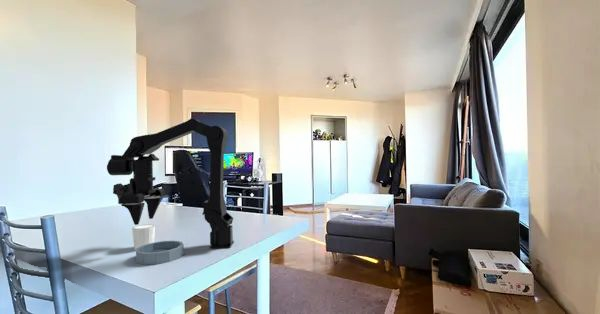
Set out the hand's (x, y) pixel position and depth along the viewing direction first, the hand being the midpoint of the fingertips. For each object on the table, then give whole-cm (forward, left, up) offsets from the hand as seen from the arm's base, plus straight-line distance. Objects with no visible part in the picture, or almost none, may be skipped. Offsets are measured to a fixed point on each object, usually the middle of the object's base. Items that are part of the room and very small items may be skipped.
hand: (144, 221), depth 97 cm
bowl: (-10, +10, -9) cm, 16 cm away
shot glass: (0, 0, -9) cm, 9 cm away
